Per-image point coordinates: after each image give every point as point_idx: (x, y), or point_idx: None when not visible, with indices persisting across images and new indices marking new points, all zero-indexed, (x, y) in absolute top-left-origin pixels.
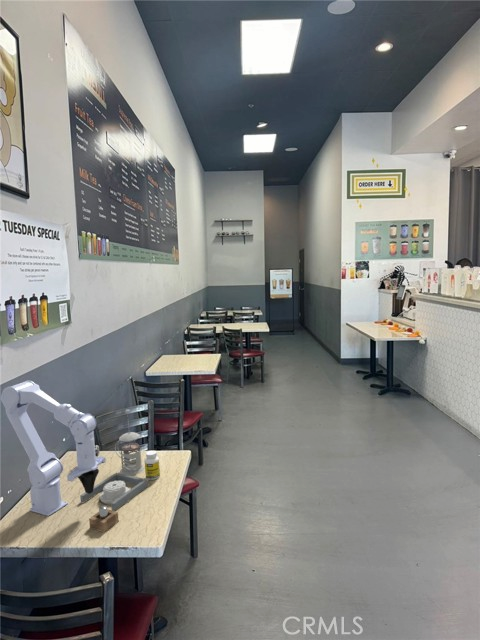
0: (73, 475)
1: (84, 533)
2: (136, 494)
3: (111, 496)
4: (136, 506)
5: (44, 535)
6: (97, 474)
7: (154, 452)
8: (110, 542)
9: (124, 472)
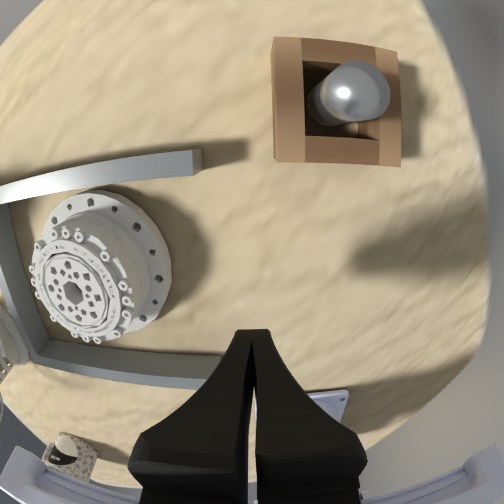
0: (498, 490)
1: (414, 155)
2: (48, 172)
3: (131, 249)
4: (119, 77)
5: (446, 305)
6: (164, 419)
7: None
8: (406, 5)
9: (16, 342)
